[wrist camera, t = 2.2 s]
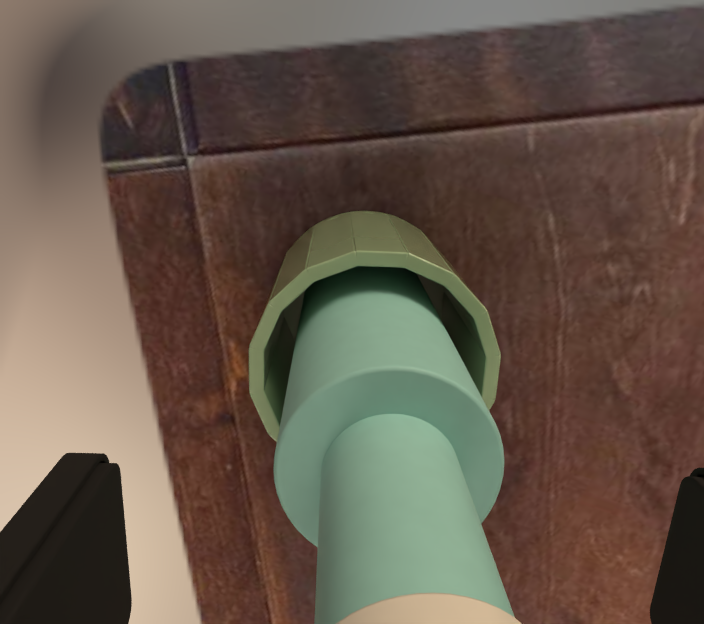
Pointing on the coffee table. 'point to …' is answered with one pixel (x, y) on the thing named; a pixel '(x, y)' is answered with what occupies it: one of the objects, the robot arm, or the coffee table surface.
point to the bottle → (389, 458)
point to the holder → (373, 251)
